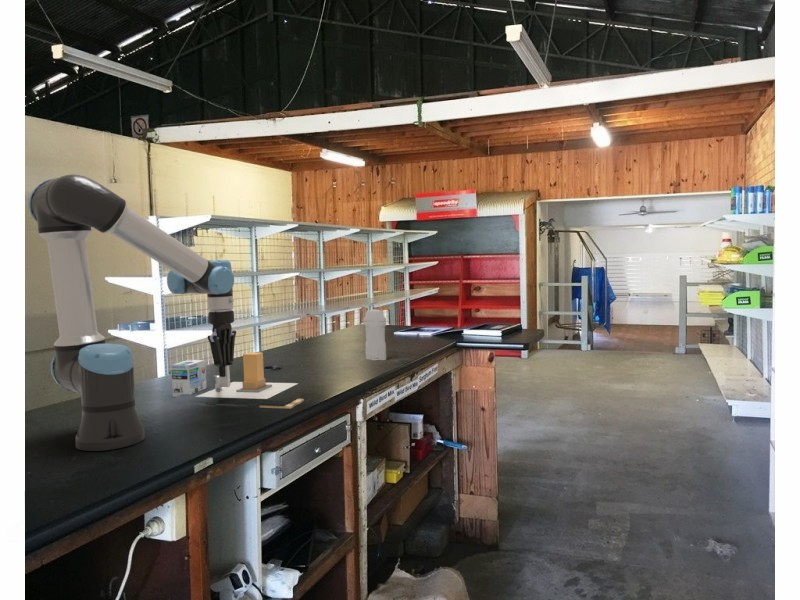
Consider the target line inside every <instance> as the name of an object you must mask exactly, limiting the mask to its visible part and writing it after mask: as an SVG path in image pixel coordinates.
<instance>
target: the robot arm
mask: <svg viewBox="0 0 800 600" xmlns="http://www.w3.org/2000/svg"><path fill="white" fill-rule="evenodd" d="M27 204H28V211H29V214H30V215H31V217H32V218H33V219H34V220H35V221H36V224H37V231H38V236H40V237H42V239H44V240H45V241H46V245H47V251H48V259H49V267H50V273H51V282H52V288H53V295H54V296H53V297H54V304H55V312H56V317H57V324H58V325H57V326H58V333H59V337H58V338H57V339H56V341H55V342H54V343H53V347H54V357H53V358H52V360H51V363H50V373H51V377H52V378H53V380H54V381H55V383H56V384H57V385H59V386H60V387H62V389H63V390H66V391H68V392H71V393H73V394H75V393H76V394H79V395H80V399H81V417H80V421H79V423H78V424H79V425H78V429H77V434H76V435H75V448H76V449H77V450H81V451H86V452H101V451H110V450H111V451H112V450H117V449H122V448H125V447H129V446H133V445H136V444H138V443H141V442H142V441H143V440H144V439H145V438H146V436H145V433H146V431H145V427H144V425H143V424H142V421H141V417H140V416H139V414H138V411H137V409H136V391H135V372H134V366H135V360H134V355H133V351H132V349H131V348H130V347H129V346H127V345H124V344H118V343H116V344H114V343H106V337H105V336H104V335H102V334H101V333H99V331H98V326H97V317H96V310H95V302H94V294H93V285H92V278H91V269H90V261H89V254H88V253H89V252H88V246H87V238H88V237H89V235H90V234H92V228H93V229H94V230H96V231H99V232H100V233H102V234H107V233H109V234H111V235H113V236H114V237H116V238H118V239H119V240H121V241H123V242H124V243H126V244H128V245H130V246H131V247H132V248H134V249H136V250H137V251H139V252H140V253H142V254H144V255H146V256H148V257H149V258H151V259H152V260H154V261H156V262H157V263H158V264H160V265H162V266H163V267H165V268H167V269H168V270H169V271H168V273H167V276H166V284H167V288H168V290H169V291H170V293H172V294H174V295H187V294H200V295H201V294H207V295H206V296H207V310H208V323H209V324H210V325H212V329H211V332H212V333H211V335H207V339H208V342H209V346H210V351H211V355H212V359H213V365H214V366H215V367H218V372H219V374H218V375H219V376H220V387H230V383H231V375H230V373H231V372H230V366H233V362H234V358H235V354H234V353H235V344H236V343H235V341H236V336H237V331H236V330H233V329H232V328H233V326H232V324H233V323H235V312H234V310H233V309H234V302H235V300H234V296H233V295H234V294H233V293H234V292H233V291H234V290H233V288H234V284H235V275H234V274H233V270H232V269H233V268H232V263H231V261H230V260H228V259H215V260H214V259H213V260H212V259H211V260H209V259H206V258H204V257H203V256H202V255H200V254H198V252H196V251H194V250H193V249H191V248H190V247H188V246H187V245H185V244H184V243H182V242H181V241H180V240H177V239H176V238H175V237H173V236H171V235H170V234H168V233H167V232H166V231H165V230H164V229H161V228H160V227H158V226H157V225H155V224H154V223H152V222H150V220H148V219H147V218H145V217H143V216H141V215H140V214H138V213H137V212H136V211H134V210H133V209H132V208H130V207H129V206H128V202H127V201H126V200H125V199H124V198H122V197H121V196H120V195H118V194H117V193H115V192H113V191H112V190H110V189H108V188H107V187H105V186H104V185H102V184H100V182H97V181H95V180H94V179H92V178H90V177H88V176H85V175H80V174H74V173H73V174H65V175H63V176H60V177H56V178H50V179H47V180H43V182H41V183H39V184H38V185H37V186H36V187H35V188H33V190H32V191H31V193H30V194H29V198H28V203H27Z"/></svg>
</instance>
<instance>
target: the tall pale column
mask: <svg viewBox="0 0 800 600" xmlns="http://www.w3.org/2000/svg"><path fill="white" fill-rule="evenodd" d="M363 324H364V327H365V328H364V329H365V339H366V340H365V360H366V359H367V361H387V345H386V344H387V343H386V336H385V335H386V326H387V318H386V317H385V316H384V311H383V310H380V309H376V308H375V309H369V310H366V313H365V316H364V317H363Z"/></svg>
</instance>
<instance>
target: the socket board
mask: <svg viewBox="0 0 800 600" xmlns="http://www.w3.org/2000/svg"><path fill="white" fill-rule="evenodd" d="M214 382H215V383H214V386H215V388H213V389H211V390H208V391H206V392H204V393H203V392H202V393H201V394H198V395H195V396H194V397H195V398H224V399H225V398H226V399H250V400H251V399H252V400H253V399H257V400H268V399H270V398H272V397H274V396H276V395H278V394H280V393H282V392H284V391H286V390H288V389H290V388H292V387H294V386H296V385H298V384H299V383H296V382H266V386H265V387H263V388H261V389H259V390H243V384H242V382H243V381H232V382H230V387H220V392H217V389H216V381H214Z"/></svg>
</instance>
